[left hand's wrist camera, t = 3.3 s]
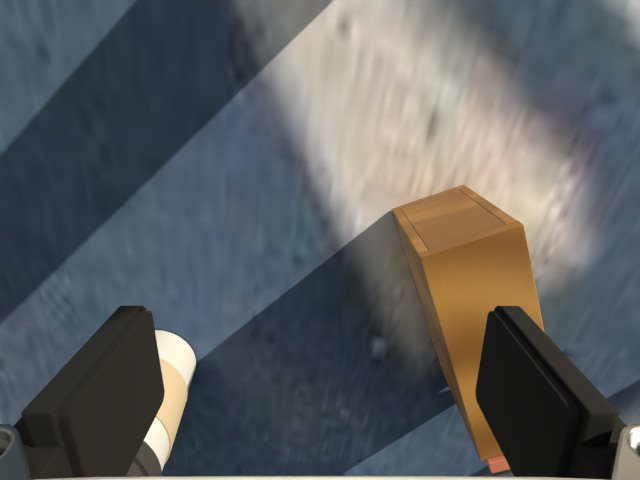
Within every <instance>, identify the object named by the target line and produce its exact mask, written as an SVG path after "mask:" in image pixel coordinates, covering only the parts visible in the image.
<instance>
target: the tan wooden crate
mask: <svg viewBox="0 0 640 480" xmlns="http://www.w3.org/2000/svg"><path fill="white" fill-rule="evenodd" d="M392 213H393V216H394V219H395V222H396V225H397V229H398V232H399V235H400V238H401V241H402V245H403V248H404V251H405V254H406V257H407V261H408V264H409V267H410V270H411V274H412V277H413V280H414V283H415V286H416V290H417V293H418V296H419V299H420V302H421V306H422V309H423V312H424V315H425V318H426V322H427V325H428V328H429V331H430V334H431V338H432V341H433V344H434V347H435V350H436V354H437V357H438V360H439V363H440V367H441V370H442V372H443V374H444V377H445V379H446V381H447V384H448V386H449V388H450V391H451V393H452V395H453V398H454V400H455V402H456V404H457V407H458V409H459V411H460V414H461V416H462V418H463V421H464V423H465V425H466V428H467V430H468V432H469V435H470V437H471V439H472V442H473V444H474V446H475V449H476V451H477V453H478V456H479V458H480V460H485V459H489V458H493V457H497V456H501V455H503V453H502V451H501V449H500V447H499V445H498V443H497V441H496V439H495V437H494V435H493V433H492V431H491V429H490V427H489V425H488V423H487V421H486V419H485V417H484V415H483V413H482V411H481V409H480V407H479V405H478V403H477V400H476V394H475V390H476V383H477V377H478V371H479V365H480V359H481V353H482V347H483V340H484V334H485V328H486V322H487V316H488V313H489V312H490V311H494V309H495V307H496V306H520V307H521V308H522V309H523V310H524V311H525V312H526V313H527V314H528V315H529V317H530V318H531V319H532V320H533V321H534V322H535V323H536V324H537V325H538V326H539V327H540V328H541V329H542V331H543V332H544V328H543V323H542V317H541V312H540V307H539V302H538V297H537V292H536V287H535V282H534V277H533V272H532V267H531V261H530V256H529V251H528V246H527V241H526V236H525V231H524V226H523V224H522V223H520V222H519V221H517V220H515V219H514V218H512V217H511V216H510V215H508V214H507V213H505V212H504V211H502V210H501V209H499V208H498V207H496V206H495V205H493V204H492V203H490V202H489V201H487V200H486V199H484V198H483V197H481V196H480V195H478V194H477V193H475V192H474V191H472V190H471V189H469V188H468V187H466V186H465V185H462V186H459V187H456V188H453V189H450V190H447V191H444V192H441V193H438V194H435V195H432V196H429V197H426V198H423V199H420V200H418V201H415V202H412V203H409V204H406V205H403V206H400V207H397V208H394V209H392Z"/></svg>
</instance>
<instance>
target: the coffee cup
mask: <svg viewBox="0 0 640 480" xmlns="http://www.w3.org/2000/svg"><path fill="white" fill-rule="evenodd" d="M155 334H156V340H157V347H158V353H159V359H160V365H161V371H162V377H163V383H164V390H165V394H164V400H163V403H162V405H161V407H160V409H159V411H158V413H157V415H156V417H155V419H154V421H153V423H152V425H151V427H150V429H149V431H148V433H147V435H146V437H145V439H144V441H143V443H142V445H141V447H140V449H139V451H138V453H137V455H136V457H135V459H134V461H133V463H132V465H131V467H130V469H129V471H128V473H127V475H126V477H162V470H163V467H164V464H165V463H166V461H167V460H168V458H169V455H170V452H171V449H172V446H173V443H174V439H175V436H176V433H177V430H178V427H179V423H180V420H181V417H182V414H183V410H184V407H185V404H186V401H187V395H188V390H189V387H190V384H191V381H192V378H193V375H194V372H195V368H196V358H195V355H194V352H193V350H192V349H191V347H190V346H189V345H188V344H187V343H186V342H185V341H184V340H183V339H182V338H180V337H179V336H177V335H175V334H173V333H170V332H166V331H159V330H155Z"/></svg>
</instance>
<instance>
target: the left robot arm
mask: <svg viewBox="0 0 640 480" xmlns="http://www.w3.org/2000/svg"><path fill="white" fill-rule="evenodd" d="M164 394H165V390H164V383H163V377H162V371H161V365H160V359H159V353H158V347H157V340H156V334H155V328H154V322H153V316H152V313H151V312H150V311H146V309H145V307H144V306H120V307H119V308H118V309H117V310H116V311H115V312H114V313H113V314H112V315H111V317H110V318H109V319H108V320H107V321H106V322H105V323H104V324H103V325H102V326H101V327H100V328H99V329H98V331H97V332H96V333H95V334H94V335H93V336H92V337H91V338H90V339H89V340H88V341H87V342H86V343H85V345H84V346H83V347H82V348H81V349H80V350H79V351H78V352H77V353H76V354H75V355H74V356H73V357H72V359H71V360H70V361H69V362H68V363H67V364H66V365H65V366H64V367H63V368H62V369H61V370H60V371H59V373H58V374H57V375H56V376H55V377H54V378H53V379H52V380H51V381H50V382H49V383H48V384H47V385H46V387H45V388H44V389H43V390H42V391H41V392H40V393H39V394H38V395H37V396H36V397H35V398H34V399H33V401H32V402H31V403H30V404H29V405H28V406H27V407H26V408H25V409H24V410H23V411H22V412H21V413H22V417H21V418H20V420H19V421H18V422H17V423H16V424H15V425H14V426H11V425H5V424H0V480H640V424H635V425H629V426H626V425H625V424H624V423H623V422H622V421H621V420H620V418H619V417H618V413H619V412H618V411H617V410H616V409H615V408H614V407H613V406H612V405H611V404H610V403H609V402H608V401H607V399H606V398H605V397H604V396H603V395H602V394H601V393H600V392H599V391H598V390H597V389H596V388H595V387H594V385H593V384H592V383H591V382H590V381H589V380H588V379H587V378H586V377H585V376H584V375H583V374H582V373H581V371H580V370H579V369H578V368H577V367H576V366H575V365H574V364H573V363H572V362H571V361H570V360H569V359H568V357H567V356H566V355H565V354H564V353H563V352H562V351H561V350H560V349H559V348H558V347H557V346H556V345H555V343H554V342H553V341H552V340H551V339H550V338H549V337H548V336H547V335H546V334H545V333H544V332H543V331H542V329H541V328H540V327H539V326H538V325H537V324H536V323H535V322H534V321H533V320H532V319H531V318H530V317H529V315H528V314H527V313H526V312H525V311H524V310H523V309H522V308H521V307H520V306H496V307H495V309H494V311H490V312H489V313H488V316H487V322H486V328H485V334H484V340H483V347H482V353H481V359H480V365H479V371H478V377H477V383H476V390H475V394H476V400H477V403H478V405H479V407H480V409H481V411H482V413H483V415H484V417H485V419H486V421H487V423H488V425H489V427H490V429H491V431H492V433H493V435H494V437H495V439H496V441H497V443H498V445H499V447H500V449H501V451H502V453H503V455H504V457H505V459H506V461H507V463H508V465H509V467H510V469H511V471H512V473H513V475H514V477H450V476H190V477H126V475H127V473H128V471H129V469H130V467H131V465H132V463H133V461H134V459H135V457H136V455H137V453H138V451H139V449H140V447H141V445H142V443H143V441H144V439H145V437H146V435H147V433H148V431H149V429H150V427H151V425H152V423H153V421H154V419H155V417H156V415H157V413H158V411H159V409H160V407H161V405H162V403H163V400H164Z"/></svg>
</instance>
